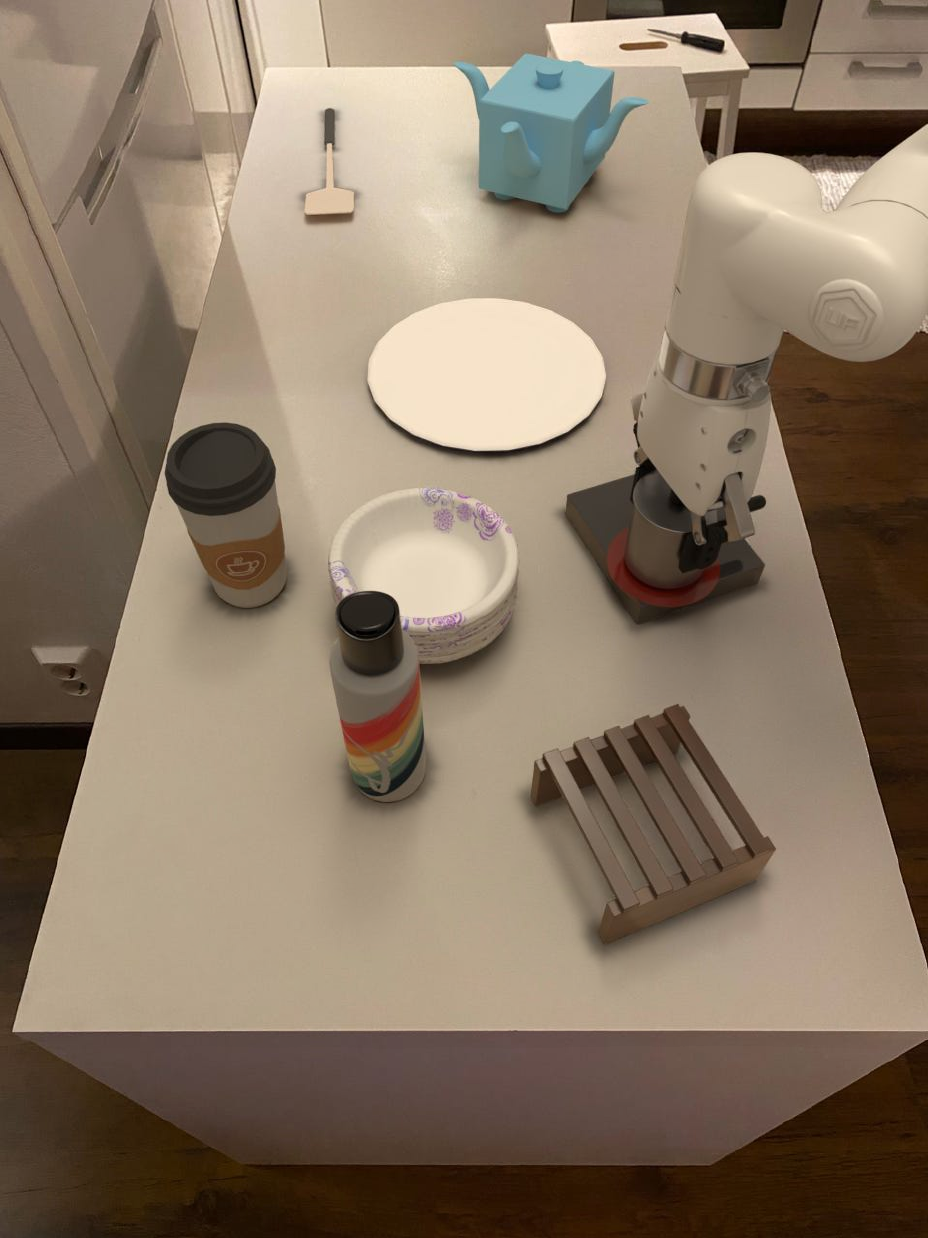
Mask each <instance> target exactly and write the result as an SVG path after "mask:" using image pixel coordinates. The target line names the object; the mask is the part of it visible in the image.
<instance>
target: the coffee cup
mask: <svg viewBox="0 0 928 1238" xmlns="http://www.w3.org/2000/svg"><path fill="white" fill-rule="evenodd" d="M276 475H277V467H276V464H275V461H274V458H273V456H272V453H271V450H270V448H269V447H268V446H267V445H266V443H265V442H264V441H263V439H262V438H261V437H260V436H259V434H257V432H255V431H254V430H252V428H249V427H247V426H244V425H242V424H239V423H233V422H227V421H226V422H211V423H207V424H203V425H199V426H197V427H194V428H192V429H190V430H188V431H187V432H185V433H183V434H181V436H179V437H178V438H177V439H176V440H175V441H174V442H173V443H172V444H171V447H170V448H169V450H168V452H167V456H166V463H165V467H164V477H165V482H166V488H167V492H168V496H169V497H170V498H171V500H172V501H173V503H174V504H175V505H176V507H177V509H178V511H179V513H180V516H181V518H182V520H183V522H184V525H185V527H186V530H187V534H188V536H189V538H190V540H191V542H192V545H193V547H194V549H195V551H196V553H197V556H198V558H199V560H200V562H201V564H202V567H203V568H204V571H205V572H206V574H207V575H208V578H209V580H210V582H211V585H212V587H213V589H214V591H215V592H216V594H217V595H218V597H219V598H221V599H222V600H223V601H224V602H226V603H228V605H232V606H234V607H236V608H243V609H251V608H257V607H261V606H264V605H266V604H268V603H270V602H271V601H273V600H274V599H275V598H276V597H278V596H279V595H280V593H281V592H282V591H283V589H284V587H285V584H286V581H287V579H288V566H287V559H286V553H285V551H286V544H285V536H284V530H283V522H282V514H281V508H280V505H279V499H278V493H277V486H276V484H277V483H276V477H277V476H276Z"/></svg>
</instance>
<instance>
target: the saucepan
mask: <svg viewBox="0 0 928 1238" xmlns="http://www.w3.org/2000/svg"><path fill="white" fill-rule="evenodd" d="M633 504H634V505H633V510H632V515H631V520H630V525H629V530H628V535H627V540H626V545H625V550H624V559H625V563H626V565H627V567H628V569H629V570H630V572H631V573H632V574H633V575H634V576H635V577H636V578H638V579H639V580H640V581H642V582H644V583H646V584H648V585H650V586H653V587H657V588H663V589H676V588H681V587H685V586H687V585H689V584H691V583H693V582H694V581H695V580H697V579H698V578H699V577H700V575H701V574H702V572H703V570H704V569H695V570H692V571H689V572H686V573H682V572H681V571H680V569H679V568H678V566H679V561H680V557H681V553H682V550H683V546H684V542H685V539H686V536H687V535H689V534H691V533H693V531H692V520H691V511H690V510H689V509H688V508H687V507H686V506H685V505H684V504H683V502H682V501H681V500H680V499H679V497H678V496H677V495H676V494H675V492H674V491H673V490H672V488H671V487H670V486H669V484H668V483H667V482H666V481H665V479H664V478H663V477H662V475H661V474H660V473H659V471H658V470H657V469H656V470H653V471H651V472H649V473H647V474H646V475H644V476H643V477H642V478H641V479H640V480H639V481H638V482H637V484H636V486H635V489H634V492H633ZM747 504H748V507H749V510H750V513H754V512H756V511H757V512H758V511H759V510H763V509H764V508H765V507H766V505H767V499H766V497H765V496H764V495H762V494H756V495H754V496H753V495H752V496H751V498H750V500H749V501H748V502H747ZM705 515H706V525H709V524H712V523H715V522H718V521H717V509H716V510H713V511H709V512H706V514H705Z"/></svg>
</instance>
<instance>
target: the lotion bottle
mask: <svg viewBox="0 0 928 1238" xmlns="http://www.w3.org/2000/svg"><path fill="white" fill-rule="evenodd" d="M335 623H336V629H337V635H338V638H337V639H336V641H334V643H333V645H332V647H331V650H330V653H329V659H328V661H329V662H328V663H329V665H328V666H329V672H330V677H331V682H332V686H333V687H332V688H333V692H334V697H335V702H336V707H337V711H338V716H339V721H340V726H341V731H342V736H343V741H344V745H345V750H346V755H347V761H348V764H349V770H350V773H351V777H352V779H353V783H354V784H355V786H356V787H357V789H358V790H359V791H360V792H361V793H362V794H363V795H364V796H366V797H367V798H369V799H371V800H373V801H377V802H383V803H392V802H398V801H401V800H404V799H405V798H408V797H409V796H411V795H412V794H413V793H415V792H416V791H417V790H418V789H419V787H421V784H422V783H423V780H424V778H425V776H426V775H425V773H426V771H427V770H426V769H427V756H426V754H427V753H426V741H425V740H426V739H425V728H424V727H425V725H424V713H423V698H422V684H421V670H420V664H419V657H418V651H417V648H416V645H415V643H414V641H413V639H412V638H411V637H410V636H409V635H408V634H407V633H406V632H405V631H404V630H402V627H401V618H400V610H399V606H398V603H397V601H396V600H395V599H394V598H393V597H392V596H390V595H388V594H386V593H383V592H379V591H361V592H356V593H353V594H350V595H348V596H346V597H345V598H344V599H342V600H341V601H340V603H339V604H338V606H337V608H335Z"/></svg>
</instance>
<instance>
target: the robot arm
mask: <svg viewBox="0 0 928 1238" xmlns="http://www.w3.org/2000/svg"><path fill="white" fill-rule="evenodd" d="M689 197H690V198H689V201H688V206H687V211H686V215H685V221H684V225H683V231H682V237H681V241H680V247H679V252H678V256H677V260H676V267H675V272H674V277H673V284H672V288H671V294H670V299H669V304H668V309H667V313H666V318H665V323H664V328H663V331H662V332H663V333H662V337H661V342H660V347H659V348H658V351H657V352H656V355H655V358H654V360H653V362H652V365H651V368H650V370H649V374H648V377H647V380H646V384H645V388H644V391H643V393H639V394H636V395H633V396H631V397H630V405H631V409H632V415H633V420H634V421H635V423H634V424H633V429H632V432H633V434H634V438H635V442H636V446H637V448H636V449H635V450H634V451H633V459H634V462H635V463H636V465H637V467H635V470H634V474H635V476H634V481H633V486H632V491H631V496H630V501H631V502H632V504H633V492H634V489H635V486H636V484H637V482H638V481H639V480H640V479H641V478H642V477H643V476H644V475H646V474H647V473H649V472H651V471H653V470H656V469H657V470H658V471H659V473H660V474H661V475H662V477H663V478H664V479H665V481H666V482H667V483H668V484H669V486H670V487H671V488H672V490H673V491H674V492H675V494H676V495H677V496H678V497H679V499H680V500H681V501H682V502H683V504H684V505H685V506H686V507H687V508H688V509H689V510H690V511H691V520H692V531H693V533H691V534H689V535H687V536H686V539H685V542H684V546H683V550H682V553H681V557H680V561H679V566H678V568H679V569H680V571H681V572H682V573H686V572H689V571H692V570H695V569H704V568H707V567H709V566H711V565H712V564H713V563H714V562H715V561H716V560H717V557H718V554H719V551H720V548H721V544H722V543H725V542H732V541H737V540H741V539H744V538H745V539H747V538H750V537H752V536H755V534H756V528H755V525H754V521H753V517H752V514H751V512H750V510H749V507H748V504H747V502H748V501H749V500H750V498H751V497H753V494H754V492H755V488H756V485H757V481H758V480H759V475H760V471H761V468H762V463H763V459H764V455H765V450H766V446H767V441H768V435H769V429H770V420H771V412H772V411H771V409H772V393H771V386H769V384H768V383H769V379H770V376H771V373H772V371H773V370H772V369H773V366H774V363H775V360H776V357H777V353H778V351H779V347H780V344H781V340H782V337H783V334H784V331H785V332H787V333H788V334H790V335H791V336H793V337H795V338H796V339H798V340H800V341H801V342H803V343H804V344H806V345H808V346H810V347H812V348H814V350H815V349H816V350H817V351H819V352H821V353H824V354H826V355H828V356H829V357H833V358H835V359H840V360H843V361H847V362H853V363H854V362H855V363H856V362H857V363H866V362H867V363H868V362H874V361H879V360H882V359H885V358H887V357H889V356H891V355H893V354H895V353H896V352H898V351H899V350H900V349H902V348H903V347H905V346H906V345H907V344H908V343H909V342H910V341H911V339H912V338H913V337H914V335H916V334H917V331H918V330H919V329H920V327H921V326H922V324H923V322H924V320H925V318H926V316H927V315H928V123H927V124H925V125H924V126H922V127H921V128H920V129H918V130H917V131H916V132H914V133H913V134H912V135H910V136H908V137H907V138H906V139H905V140H903V141H902V142H900V143H899V144H898V145H896V146H895V147H894V148H892V149H891V150H890V151H888V152H887V153H886V154H885V155H883V156H882V157H881V158H879V159H878V160H877V161H876V162H875V163H873V164H872V165H871V166H870V167H868V168H867V169H866V171H865V172H863V173H862V174H861V175H860V176H859V178H857V180H856V181H855V182H854V183H853V184H852V186H851V187H850V188H849V190H848V191H847V192H846V193H845V195H844V196H843V197H842V198H841V200H840V201H839V202H838V204H837V206H836V207H835V209H834V210H833V211H830V212H828V211H826V210H824V208H823V198H822V197H823V196H822V190H821V187H820V184H819V183H818V180H817V178H816V177H815V176H814V175H813V174H812V173H811V172H810V171H809V170H808V169H807V168H806V167H805V166H803V165H801V164H800V163H798V162H797V161H794V160H792V159H790V158H787V157H785V156H780V155H777V154H772V153H765V152H753V151H752V152H738V153H734V154H729V155H726V156H723V157H721V158H719V159H717V160H714V161H713V162H711V163H710V164H709V165H708V166H706V167H705V168H704V169H703V170H702V171H701V172H700V173H699V175H698V177H697V178H696V180H695V182H694V184H693V187H692V190H691V193H690V196H689ZM633 505H634V504H633ZM716 509H717V521H718V522H715V523H712V524H709V525H706V515H705V514H706V512H709V511H713V510H716Z"/></svg>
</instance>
